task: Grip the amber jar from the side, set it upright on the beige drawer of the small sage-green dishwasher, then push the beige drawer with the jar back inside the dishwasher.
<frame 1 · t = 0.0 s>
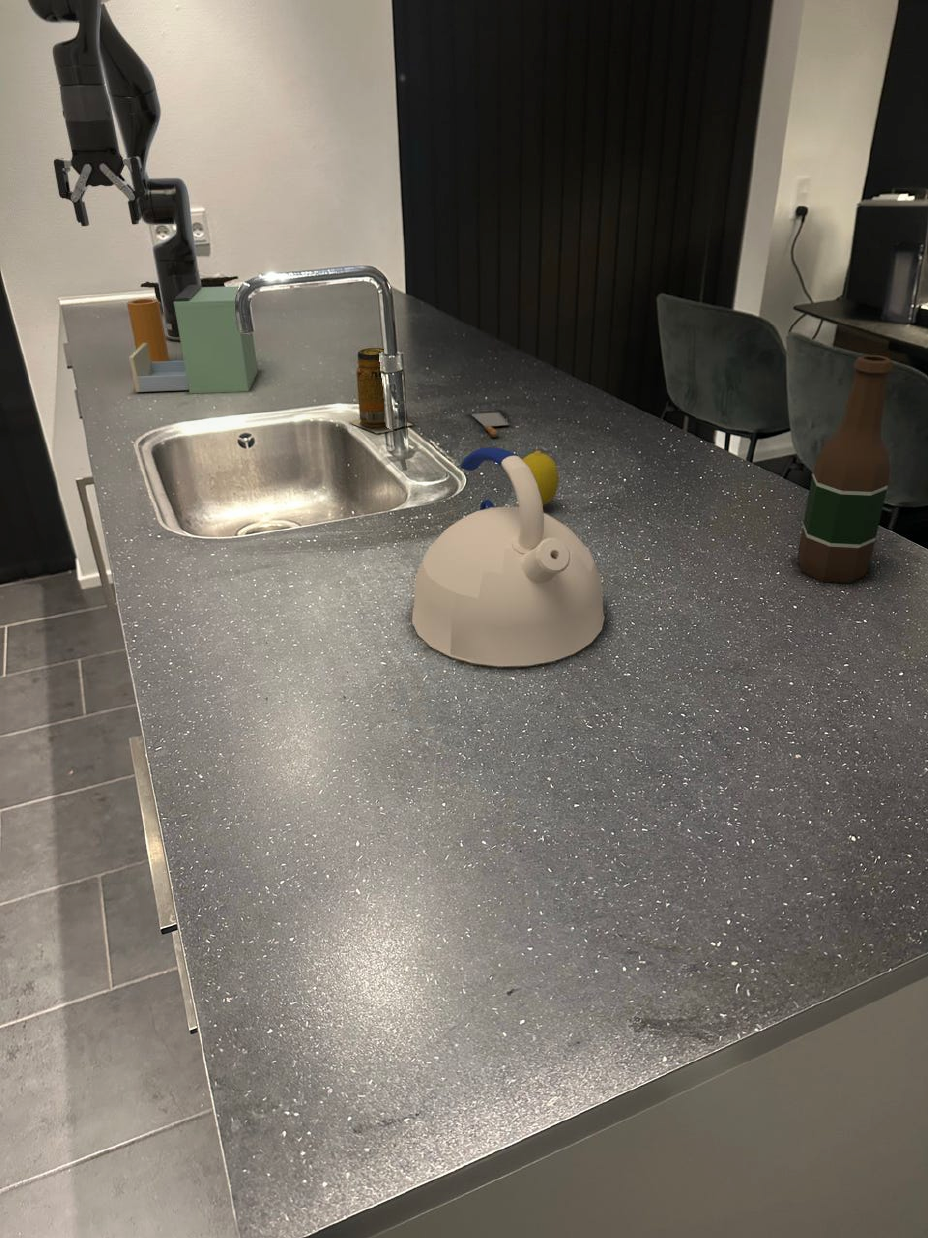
hand: (110, 224, 156), 29 cm above the counter, tool pointing down, fingers open, 8 cm apart
condiment: (380, 425, 152), on the counter
kettle: (508, 618, 95), on the counter
jar: (155, 366, 187), on the counter
beige drawer: (168, 365, 173), point 4 cm above the counter, slide at 9.0 cm
cleaver: (494, 426, 150), on the counter
beer bottle: (830, 570, 103), on the counter
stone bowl: (193, 308, 238), on the counter
dishwasher: (225, 382, 176), on the counter
lemon: (536, 510, 120), on the counter
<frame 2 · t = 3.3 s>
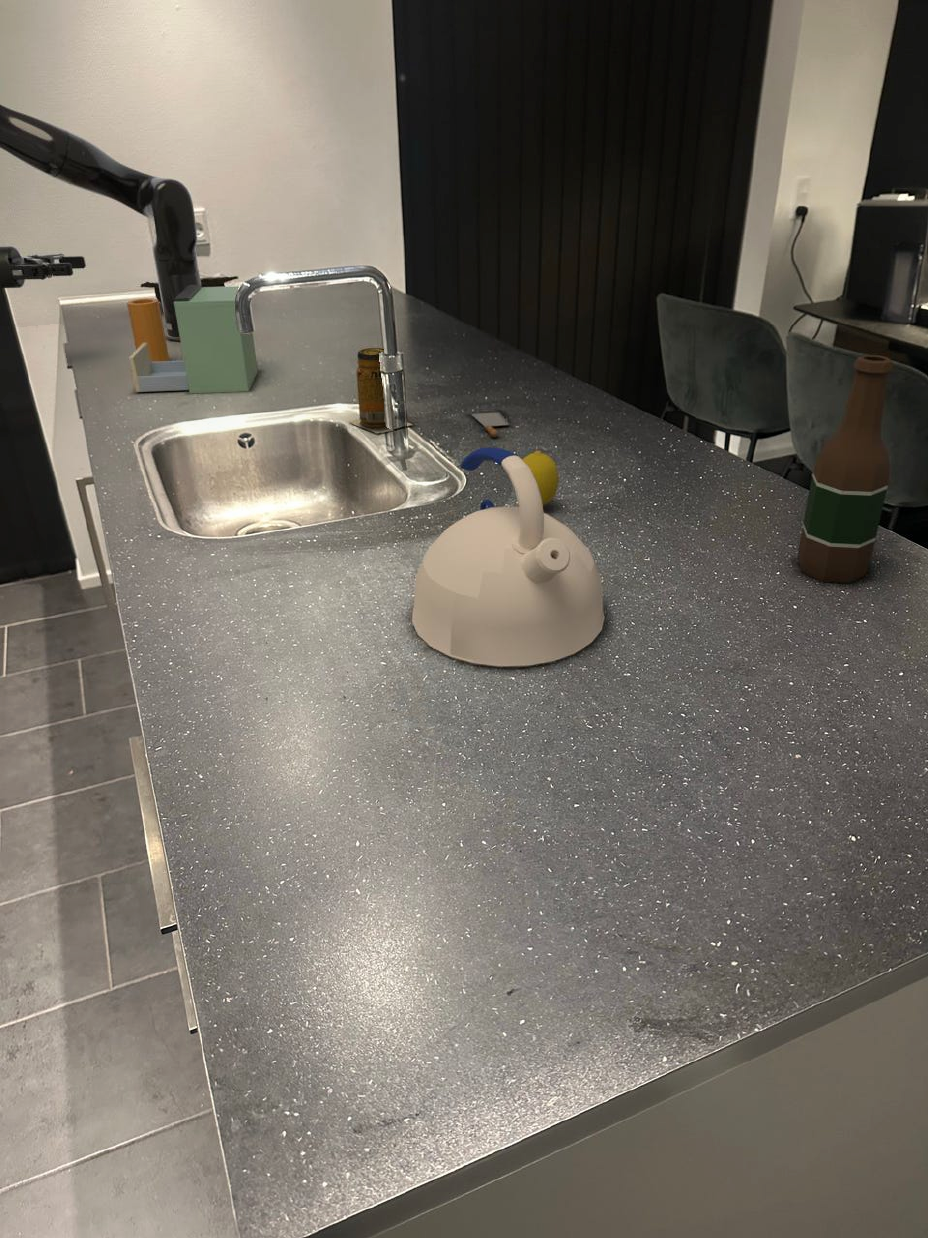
hand: (78, 265, 176), 20 cm above the counter, tool horizontal, fingers open, 8 cm apart
nothing on the counter moved.
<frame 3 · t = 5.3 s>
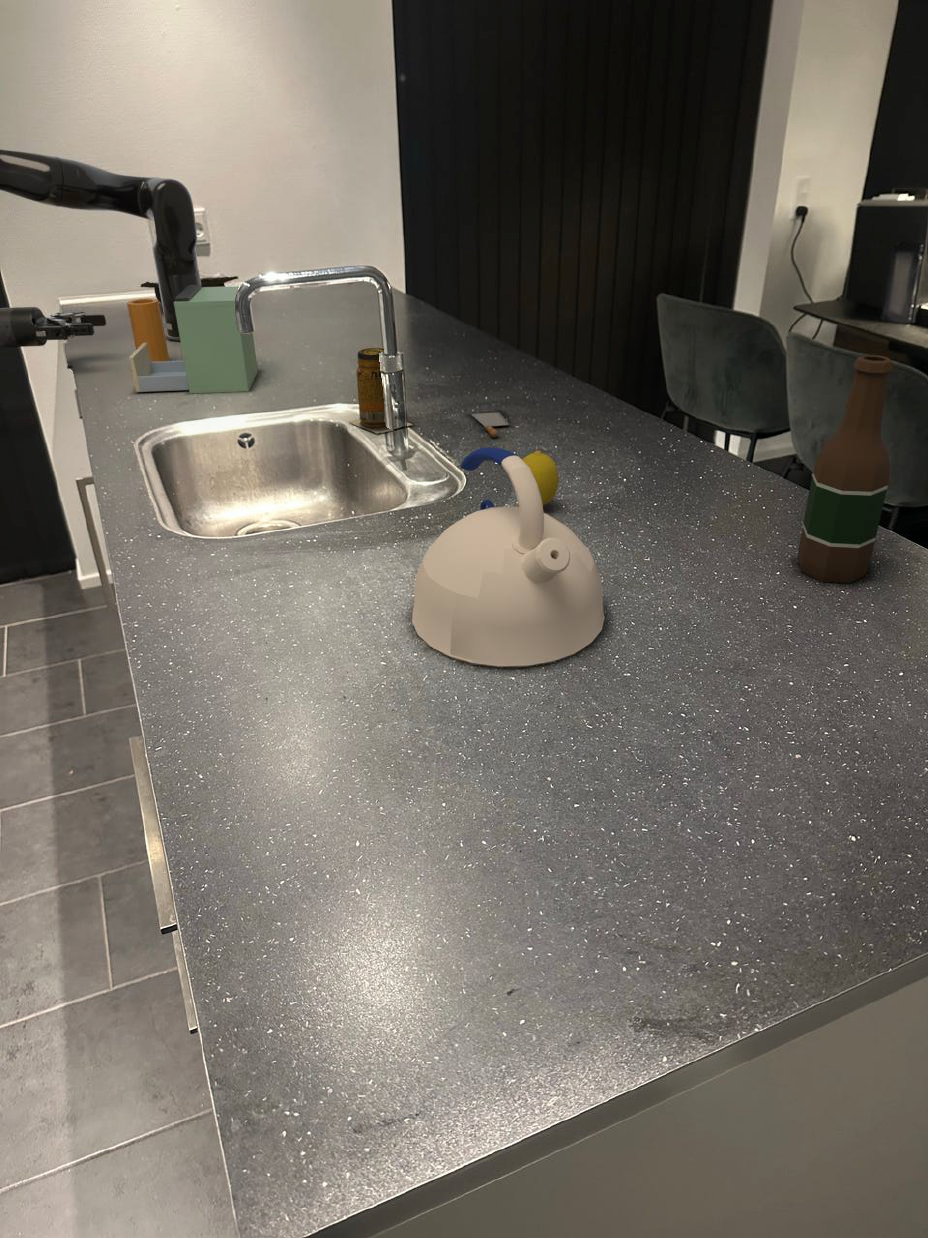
hand: (99, 324, 182), 9 cm above the counter, tool horizontal, fingers open, 8 cm apart
nothing on the counter moved.
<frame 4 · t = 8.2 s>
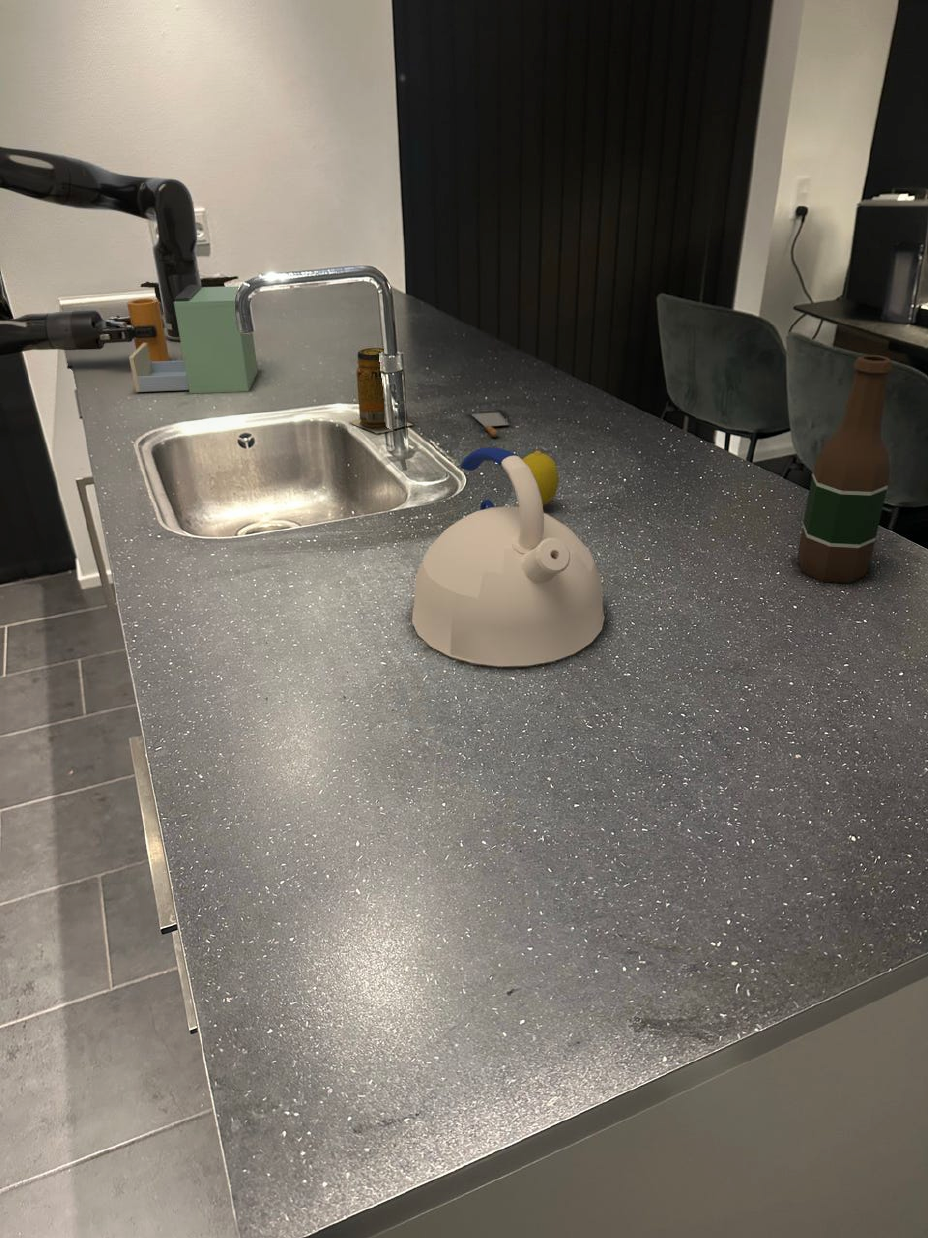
hand: (159, 327, 183), 8 cm above the counter, tool horizontal, fingers closed on jar, 6 cm apart
jar: (155, 366, 187), on the counter, touching gripper
everything else where it was.
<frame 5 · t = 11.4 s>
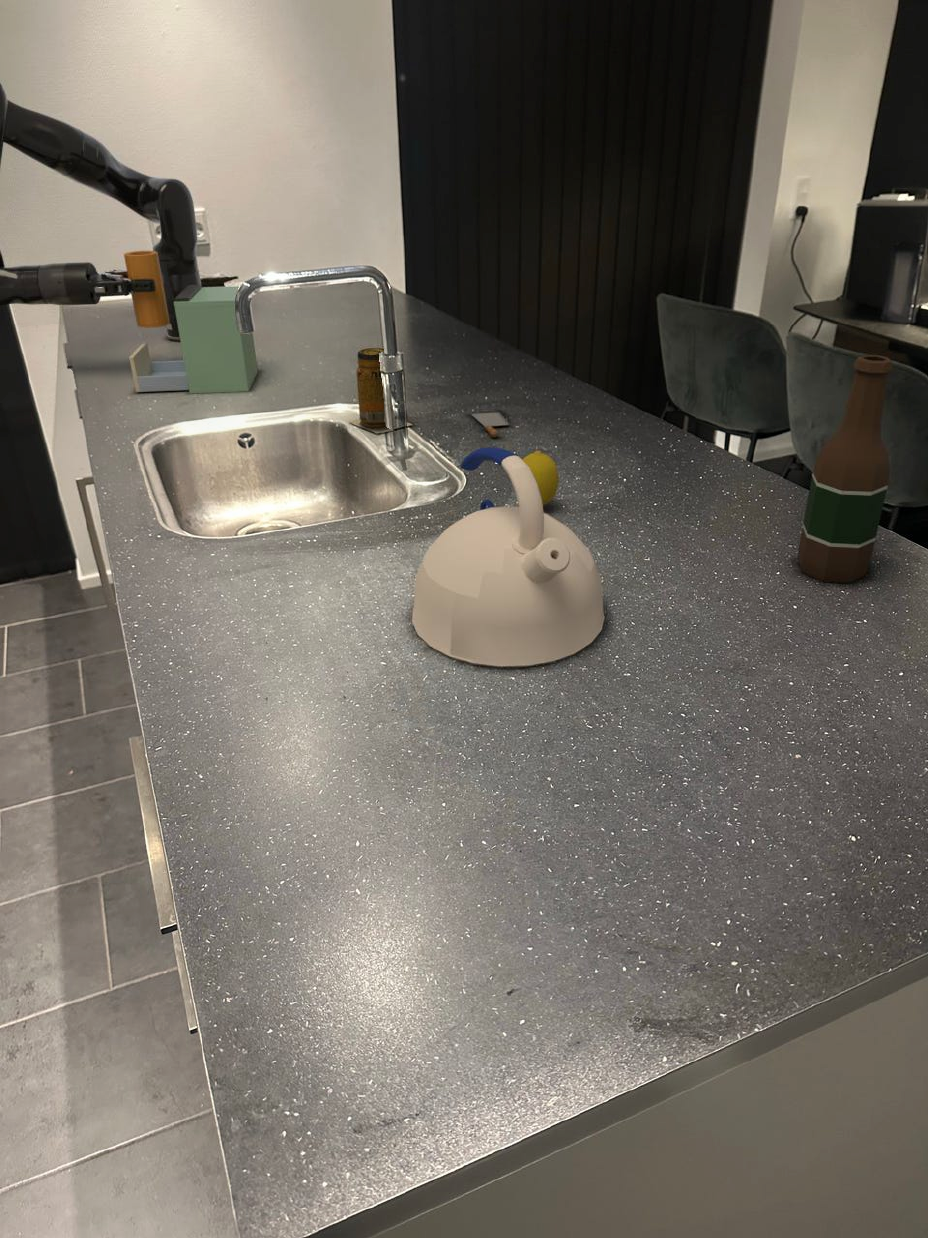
hand: (158, 281, 172), 18 cm above the counter, tool horizontal, fingers closed on jar, 6 cm apart
jar: (153, 324, 176), point 10 cm above the counter, touching gripper
everything else where it was.
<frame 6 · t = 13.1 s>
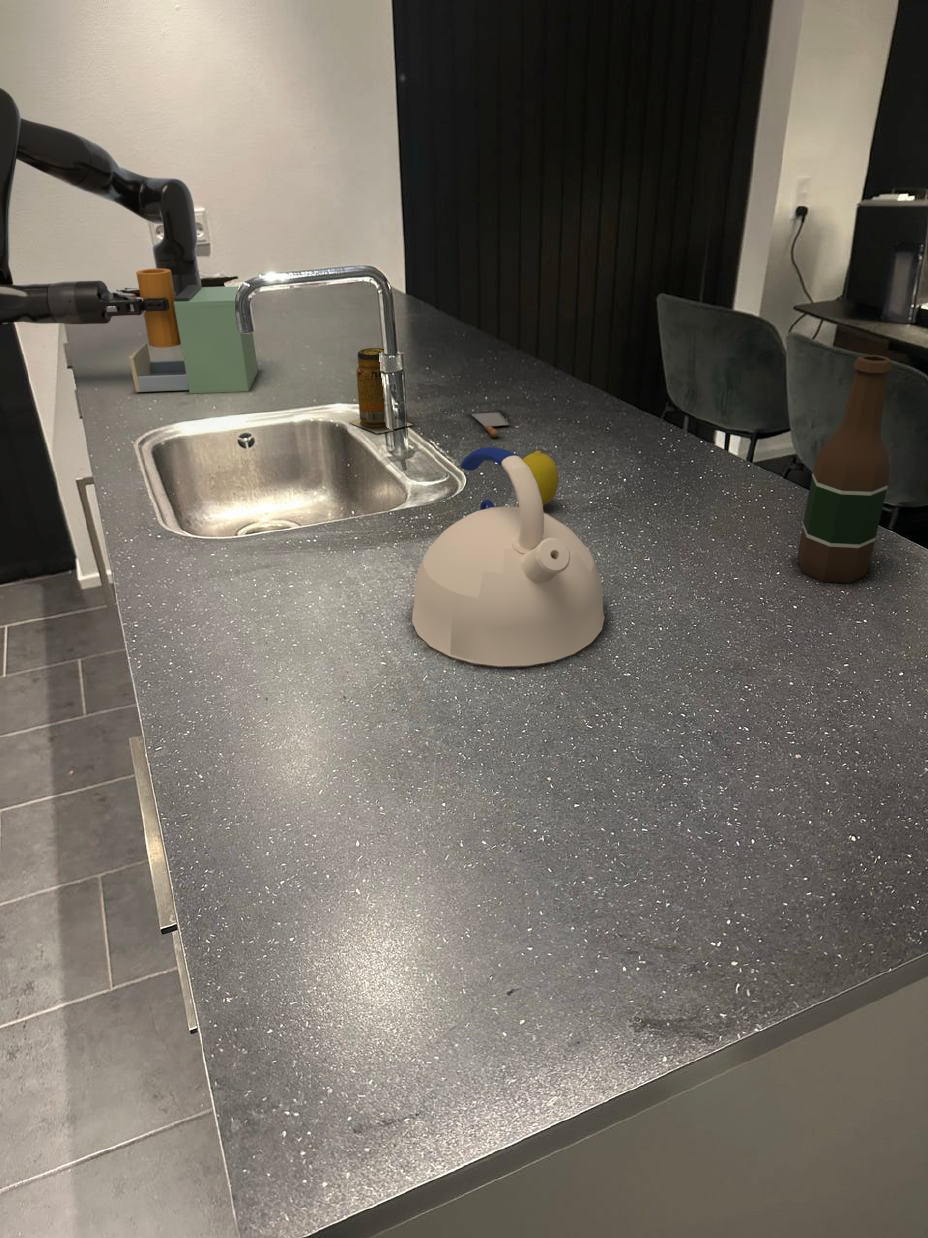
hand: (171, 300, 167), 16 cm above the counter, tool horizontal, fingers closed on jar, 6 cm apart
jar: (166, 343, 171), point 8 cm above the counter, touching gripper
everything else where it was.
when the fingers open (9 cm above the counter, at t = 15.6 s): jar stays where it is, resting on beige drawer.
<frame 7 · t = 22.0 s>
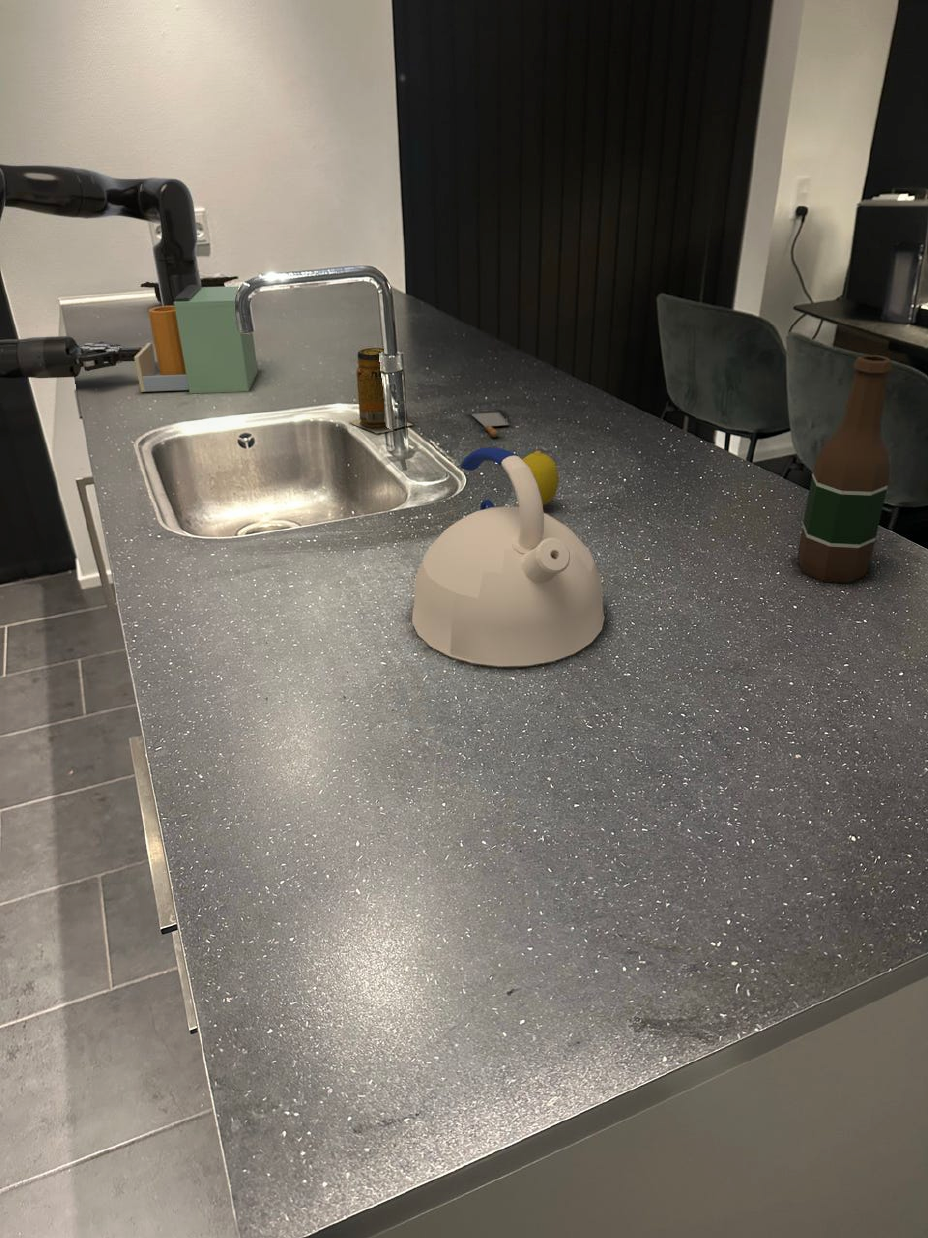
hand: (141, 353, 172), 6 cm above the counter, tool horizontal, fingers closed
jar: (177, 378, 175), point 1 cm above the counter, touching beige drawer
beige drawer: (173, 365, 173), point 4 cm above the counter, slide at 8.1 cm, touching gripper, jar
everything else where it was.
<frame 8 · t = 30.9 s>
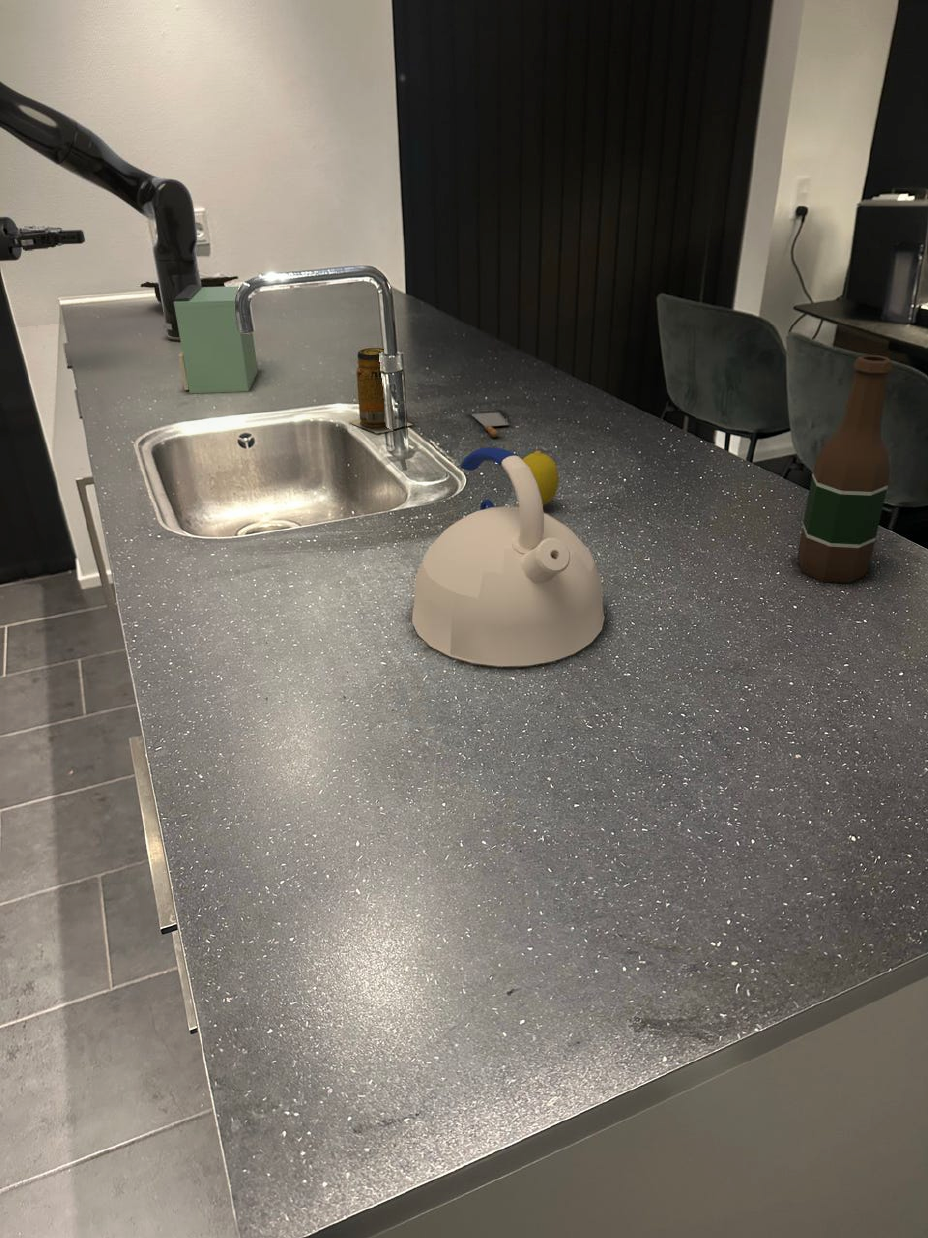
hand: (83, 236, 168), 26 cm above the counter, tool horizontal, fingers closed
jar: (219, 376, 175), point 1 cm above the counter, touching beige drawer
beige drawer: (215, 364, 174), point 4 cm above the counter, slide at 0.0 cm, touching jar
everything else where it was.
at the end: jar inside the target area on the dishwasher (1.6 cm from its centre), point 1.1 cm above the dishwasher's base; beige drawer slide at 0.0 cm; jar tilted 0° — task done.
